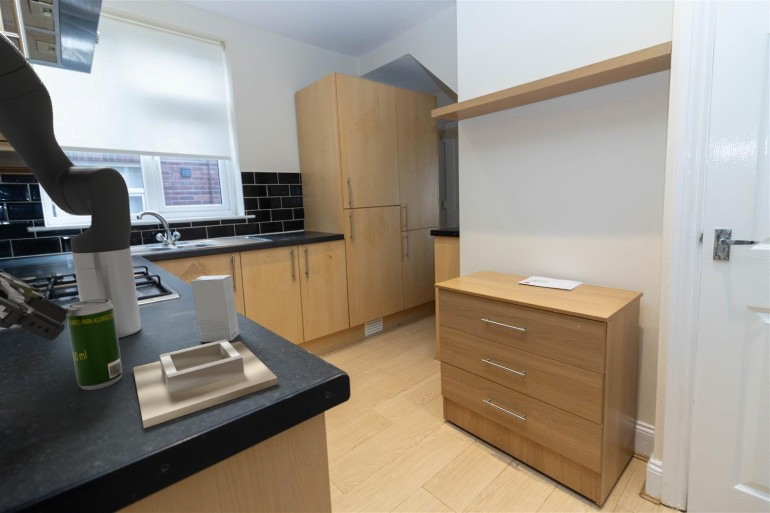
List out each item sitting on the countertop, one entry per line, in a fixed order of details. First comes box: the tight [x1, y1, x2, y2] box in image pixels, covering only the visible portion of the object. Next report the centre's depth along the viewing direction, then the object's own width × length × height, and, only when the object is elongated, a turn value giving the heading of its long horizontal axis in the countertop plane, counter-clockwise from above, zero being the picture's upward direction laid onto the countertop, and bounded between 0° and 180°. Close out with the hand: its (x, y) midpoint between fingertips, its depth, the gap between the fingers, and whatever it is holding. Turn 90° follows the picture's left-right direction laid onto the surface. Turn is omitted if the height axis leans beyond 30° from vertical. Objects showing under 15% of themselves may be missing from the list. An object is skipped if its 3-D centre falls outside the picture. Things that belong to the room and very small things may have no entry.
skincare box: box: [190, 274, 240, 343], centre depth 70 cm, size 6×4×12 cm
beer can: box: [65, 299, 124, 391], centre depth 54 cm, size 5×5×12 cm
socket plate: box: [132, 339, 279, 429], centre depth 54 cm, size 18×16×4 cm
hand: (62, 325), depth 51 cm, fingers open, 8 cm apart
